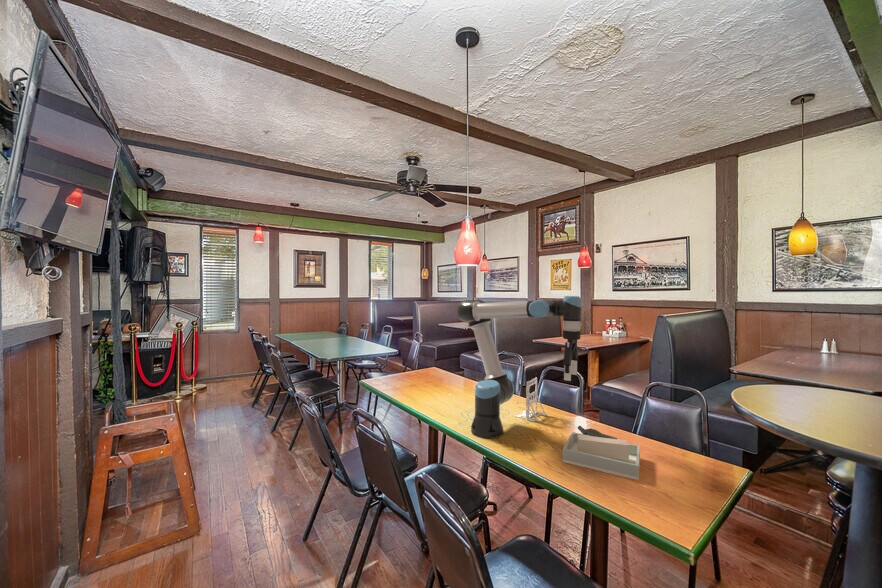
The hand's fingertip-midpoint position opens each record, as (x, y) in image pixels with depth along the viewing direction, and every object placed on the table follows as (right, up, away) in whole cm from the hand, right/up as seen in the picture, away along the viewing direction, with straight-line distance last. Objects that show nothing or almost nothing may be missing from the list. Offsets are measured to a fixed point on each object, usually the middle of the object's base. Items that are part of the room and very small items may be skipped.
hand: (570, 377), depth 159 cm
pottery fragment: (+13, -29, +2) cm, 32 cm away
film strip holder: (-10, -29, +31) cm, 43 cm away
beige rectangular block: (+5, -26, -19) cm, 33 cm away
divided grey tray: (+5, -28, -19) cm, 34 cm away
